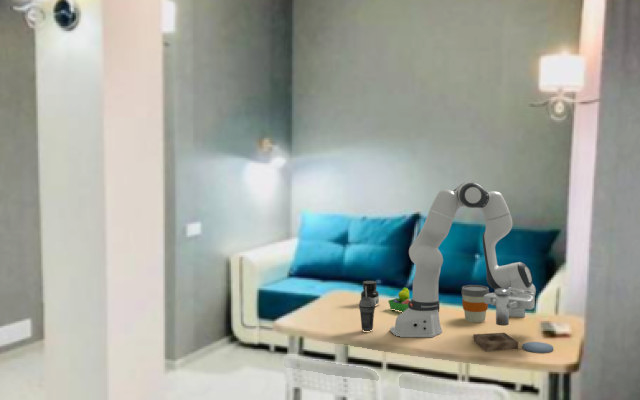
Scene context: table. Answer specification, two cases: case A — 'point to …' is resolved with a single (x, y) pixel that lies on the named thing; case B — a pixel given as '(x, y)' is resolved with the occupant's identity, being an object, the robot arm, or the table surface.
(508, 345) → the walnut socket block
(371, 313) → the beverage cup
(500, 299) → the steel plug
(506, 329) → the table surface
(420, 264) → the robot arm
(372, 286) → the ink bottle
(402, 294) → the fruit basket
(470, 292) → the reusable coffee cup
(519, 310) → the supplement box
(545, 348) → the slate rubber mat
